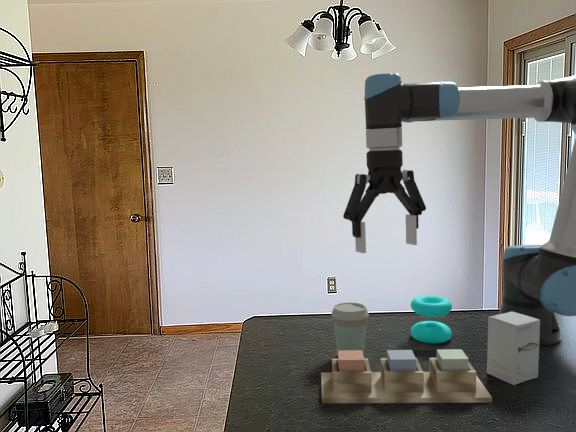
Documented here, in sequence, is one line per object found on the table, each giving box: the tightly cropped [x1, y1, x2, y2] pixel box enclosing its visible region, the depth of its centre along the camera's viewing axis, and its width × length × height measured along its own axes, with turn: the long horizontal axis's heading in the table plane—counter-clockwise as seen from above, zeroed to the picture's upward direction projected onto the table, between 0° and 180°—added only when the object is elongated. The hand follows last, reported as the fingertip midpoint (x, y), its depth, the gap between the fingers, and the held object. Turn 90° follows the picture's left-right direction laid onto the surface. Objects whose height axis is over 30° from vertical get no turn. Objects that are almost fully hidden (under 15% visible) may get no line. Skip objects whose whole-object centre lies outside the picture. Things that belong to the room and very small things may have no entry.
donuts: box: [410, 295, 453, 344], centre depth 137 cm, size 10×10×10 cm
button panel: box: [320, 357, 493, 404], centre depth 110 cm, size 32×12×5 cm, turn 87°
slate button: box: [386, 349, 417, 371], centre depth 109 cm, size 5×5×4 cm
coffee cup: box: [331, 301, 370, 355], centre depth 126 cm, size 8×8×12 cm
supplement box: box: [486, 312, 540, 386], centre depth 114 cm, size 7×7×13 cm
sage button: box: [436, 348, 470, 371], centre depth 109 cm, size 5×5×4 cm
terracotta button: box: [337, 350, 365, 372], centre depth 110 cm, size 5×5×4 cm
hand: (386, 248), depth 119 cm, fingers open, 13 cm apart
